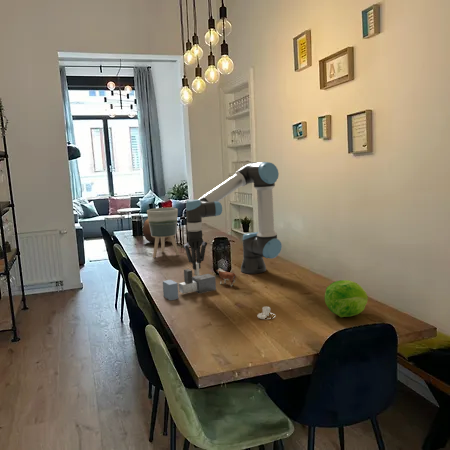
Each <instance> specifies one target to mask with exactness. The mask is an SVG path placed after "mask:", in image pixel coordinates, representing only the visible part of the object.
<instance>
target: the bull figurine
mask: <svg viewBox="0 0 450 450" xmlns="http://www.w3.org/2000/svg"><path fill="white" fill-rule="evenodd" d="M216 272H217V273H218V274H219V277H220V283H219V285H222V283H223V281H224V283H223V284H227V282H229V281H230V287H233V284H235V282H236V278H237V277H236V274H235V273H234V272H229V271H226V270H225V269H222V268H218V269H216ZM226 281H227V282H226Z"/></svg>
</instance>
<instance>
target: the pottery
mask: <svg viewBox="0 0 450 450" xmlns="http://www.w3.org/2000/svg"><path fill="white" fill-rule="evenodd" d="M142 234H143V236H144V238H145V240H146V241H147V242H149V243H151V244H155V237H152V236H151V231H150V226H149V221H148V218H146V220H144V222H143V225H142ZM167 240H169V237H165V242H167ZM158 244H161V238H159V243H158Z"/></svg>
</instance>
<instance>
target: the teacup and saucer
mask: <svg viewBox="0 0 450 450" xmlns="http://www.w3.org/2000/svg"><path fill="white" fill-rule="evenodd" d="M261 309H262V312H261V313H260V312H259V313H258V314H257V315H256V316H257V318H258V319H261V320H270V319H271V317H269V316H270V315H272V314H273V315H275V316H274V317H273V315H272V317H273V318H272V319H274V318H276V316H277V315H276V314H275V313H273V312H271V307H270V306H262V308H261ZM269 313H270V314H269ZM267 316H268V317H267ZM265 318H267V319H265ZM272 319H271V320H272Z"/></svg>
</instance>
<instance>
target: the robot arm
mask: <svg viewBox="0 0 450 450" xmlns="http://www.w3.org/2000/svg"><path fill="white" fill-rule="evenodd" d="M279 174H280V173H279V169H278V167H277V166H276V165H275V164H274V163H273V162H268V161H258V162H257V161H255V162H249V163H247V164H246V165H244V166H241V167H240V168H239V169H237V170H236V171H235V172H233V175H232V176H230V177H229V178H227V179H226V180H224V181H223V182H222V183H220V184H218V185H217V186H216V187H214V188H213V189H211V190H209V191H208V192H206V193H205V194H203V195H202V196H201V197H199V198H198V199H188V200H187V201H185V203H186V204H185V210H186V211H185V212H186V213H185V214H186V229H187V231H186V232H187V242H186V243H185V244H183V245H182V246H183V248H184V250H185V252H186V256H187V260H188V262H189V263H190V264H192V269H193V270H194V273H193V274H194V276H199V275H200V269H201V263H202V262H204V261H205V255H206V247H207V246H208V242H207V241H204V239H203V230H202V229H203V223H202V220H203V218H209V217H210V218H212V217H217V216H221V215H222V213H223V206H222V203H221V200H223V199H225V198H226V197H228V196H229V195H230V194H232V193H233V192H235V191H236V190H237V189H239V188H241V187H245V186H247V185H248V184H253V187H254V189H255V190H256V196H257V198H256V200H257V201H256V202H257V217H258V218H257V219H258V221H257V222H258V231H255V232H247V233H244V234H242V251H243V252H242V258H243V259H242V262H241V266H240V272H241V273H243V274H248V275H249V274H253V275H255V274H262V273H264V272H265V273H266V271H267V266H266V263H265V260H264V258H265V259H275V258H277V257H278V256H279V254H280V253H281V251H282V248H283V245H282V242H281V240H280V239H278V234H277V232H276V231H275V223H274V221H275V220H274V202H273V200H274V198H273V188H275V185H276V182H277V180H278V179H279Z"/></svg>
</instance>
